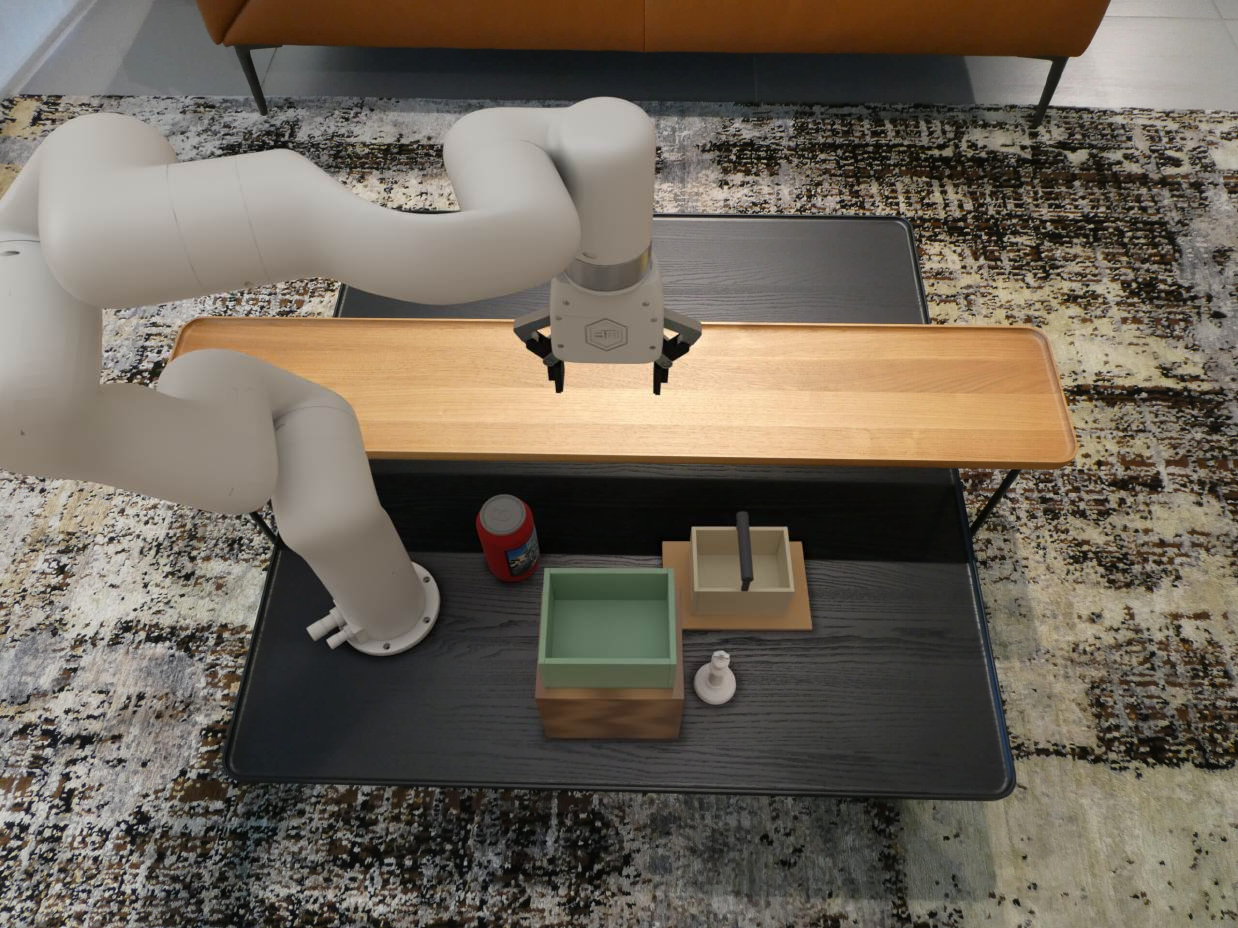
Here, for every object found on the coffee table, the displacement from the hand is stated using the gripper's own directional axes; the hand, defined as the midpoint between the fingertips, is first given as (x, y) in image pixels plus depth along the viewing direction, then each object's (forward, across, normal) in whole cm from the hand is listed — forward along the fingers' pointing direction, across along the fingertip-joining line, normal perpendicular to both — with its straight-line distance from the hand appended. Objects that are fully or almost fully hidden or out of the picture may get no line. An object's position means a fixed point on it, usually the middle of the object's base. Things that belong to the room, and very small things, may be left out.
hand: (608, 383), depth 84 cm
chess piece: (+32, +13, -19) cm, 39 cm away
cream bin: (+31, +16, -7) cm, 35 cm away
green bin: (+18, +1, -20) cm, 27 cm away
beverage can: (+32, -12, -4) cm, 34 cm away
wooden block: (+32, +1, -20) cm, 37 cm away
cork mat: (+32, +16, -7) cm, 36 cm away
